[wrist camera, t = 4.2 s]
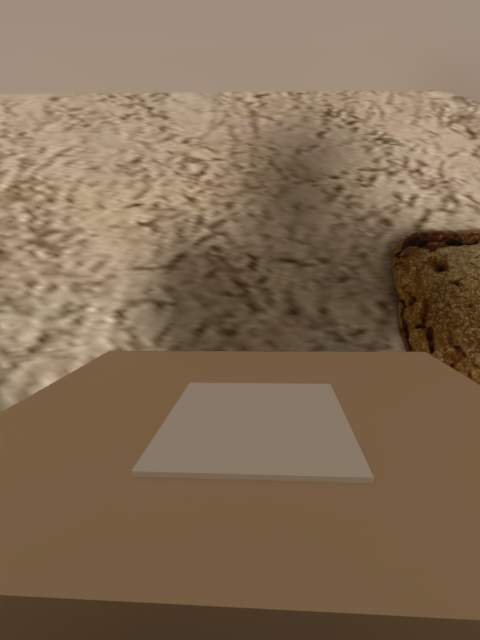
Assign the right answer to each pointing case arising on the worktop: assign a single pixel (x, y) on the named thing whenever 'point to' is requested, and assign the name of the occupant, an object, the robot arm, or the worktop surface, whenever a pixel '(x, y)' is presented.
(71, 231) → the worktop surface
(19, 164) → the worktop surface
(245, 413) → the lid flap
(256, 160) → the worktop surface
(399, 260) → the pastry
